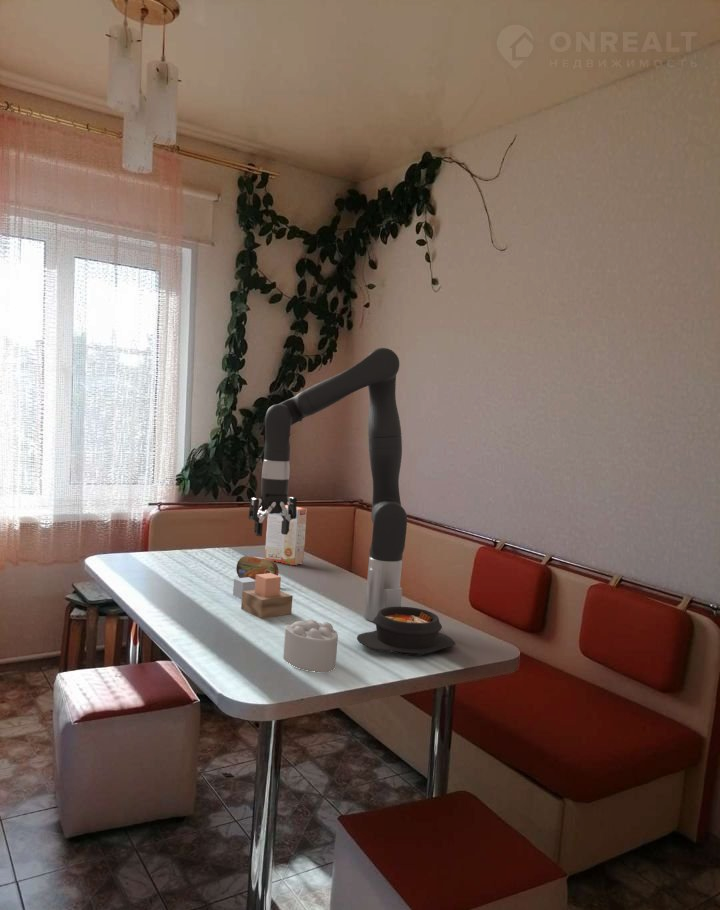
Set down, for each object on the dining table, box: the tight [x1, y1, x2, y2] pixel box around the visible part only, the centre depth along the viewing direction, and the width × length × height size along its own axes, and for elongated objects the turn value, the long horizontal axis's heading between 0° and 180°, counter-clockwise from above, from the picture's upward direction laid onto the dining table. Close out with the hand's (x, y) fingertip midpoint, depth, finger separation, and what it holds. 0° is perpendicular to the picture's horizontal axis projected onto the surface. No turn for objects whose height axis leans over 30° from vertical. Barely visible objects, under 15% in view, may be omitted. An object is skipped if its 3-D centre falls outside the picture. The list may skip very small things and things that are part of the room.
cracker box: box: [264, 504, 308, 566], centre depth 262 cm, size 14×6×21 cm, turn 58°
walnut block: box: [240, 590, 294, 619], centre depth 198 cm, size 10×10×5 cm
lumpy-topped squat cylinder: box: [282, 619, 339, 673], centre depth 161 cm, size 10×13×9 cm
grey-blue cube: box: [232, 577, 255, 600], centre depth 212 cm, size 5×5×5 cm
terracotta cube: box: [255, 573, 282, 597], centre depth 197 cm, size 5×5×5 cm
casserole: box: [356, 606, 456, 656], centre depth 176 cm, size 25×19×8 cm
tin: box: [235, 555, 279, 580], centre depth 228 cm, size 15×3×8 cm, turn 62°
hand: (271, 535), depth 197 cm, fingers open, 8 cm apart
